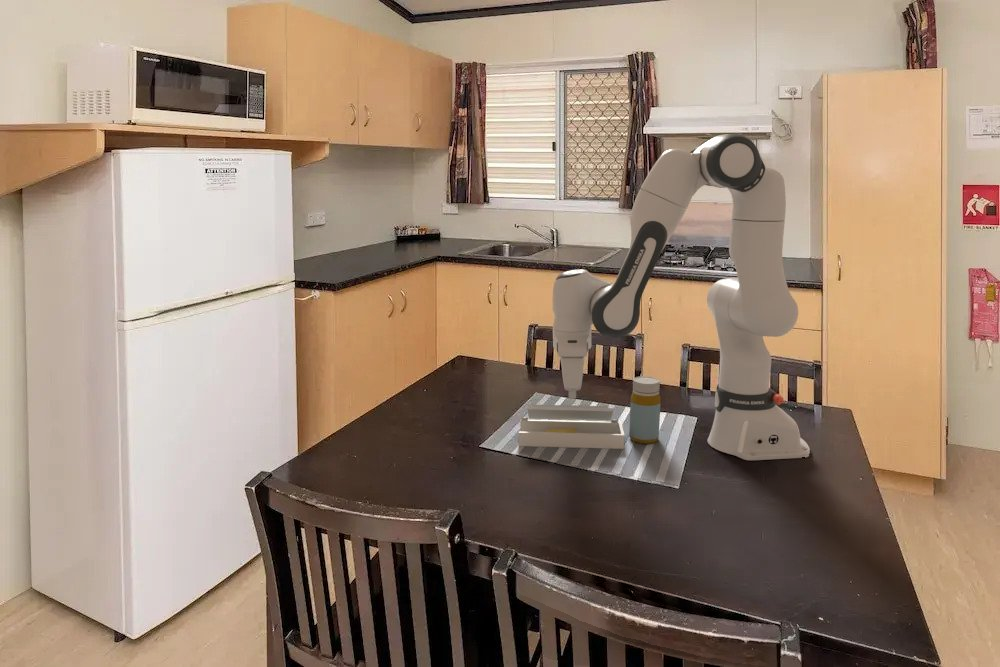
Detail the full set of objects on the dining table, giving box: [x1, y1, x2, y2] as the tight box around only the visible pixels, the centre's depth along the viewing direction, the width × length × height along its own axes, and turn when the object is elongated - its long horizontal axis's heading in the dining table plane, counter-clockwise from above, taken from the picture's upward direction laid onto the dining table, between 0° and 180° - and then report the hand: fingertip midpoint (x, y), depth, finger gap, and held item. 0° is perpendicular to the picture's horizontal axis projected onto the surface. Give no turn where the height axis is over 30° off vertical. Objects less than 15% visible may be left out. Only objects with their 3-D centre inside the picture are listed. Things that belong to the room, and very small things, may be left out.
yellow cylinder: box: [546, 428, 577, 433], centre depth 169 cm, size 7×3×3 cm, turn 98°
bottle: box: [628, 375, 662, 445], centre depth 168 cm, size 7×7×15 cm
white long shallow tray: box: [518, 416, 625, 450], centre depth 169 cm, size 25×9×4 cm, turn 85°
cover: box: [527, 404, 614, 422], centre depth 169 cm, size 20×8×1 cm, turn 85°
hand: (572, 396), depth 166 cm, fingers closed
